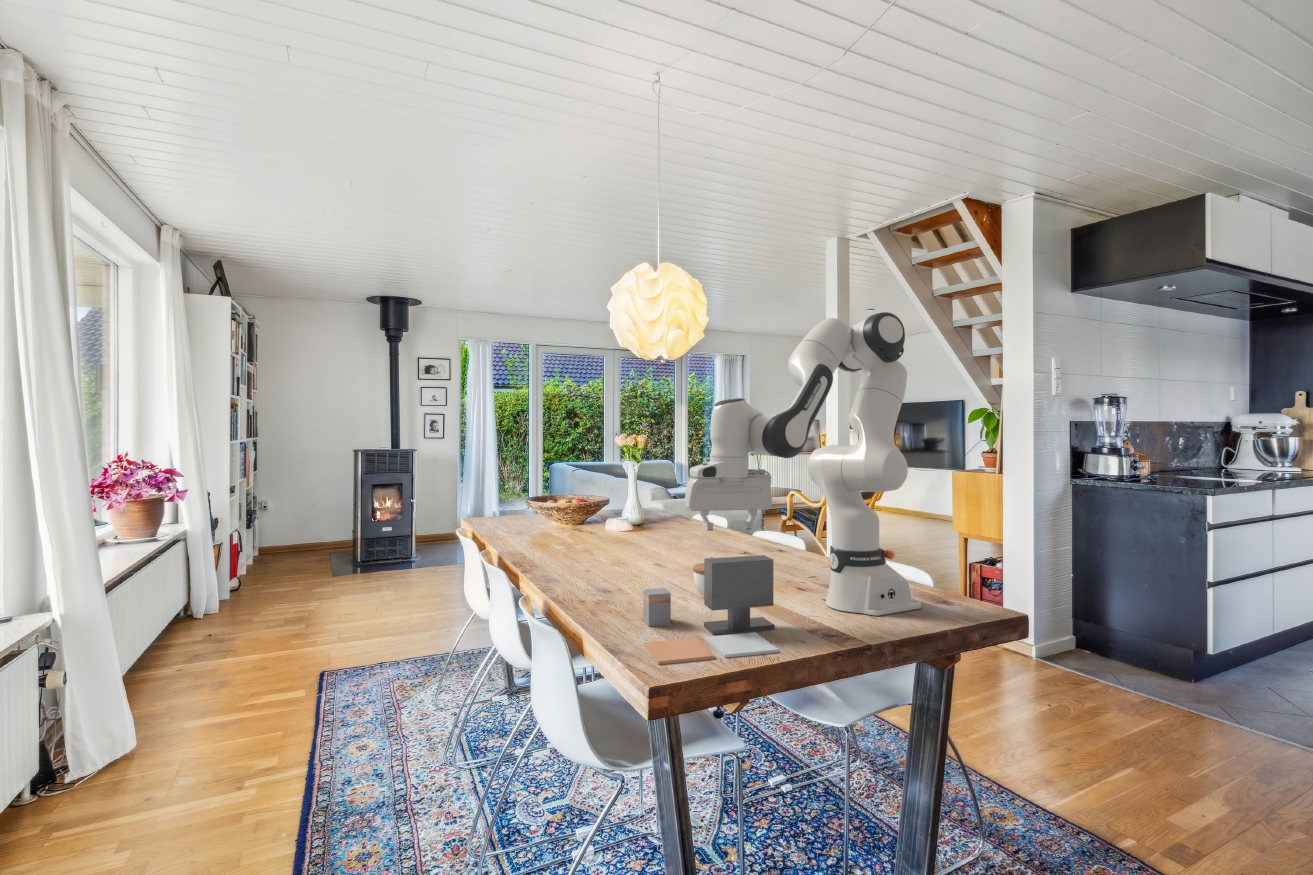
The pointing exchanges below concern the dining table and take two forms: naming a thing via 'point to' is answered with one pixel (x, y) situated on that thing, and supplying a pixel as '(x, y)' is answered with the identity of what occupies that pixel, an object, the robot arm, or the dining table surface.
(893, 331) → the robot arm
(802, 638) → the dining table surface
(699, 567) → the lidded jar
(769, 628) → the mounted unit
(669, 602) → the cartridge
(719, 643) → the pale pad
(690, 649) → the terracotta pad
